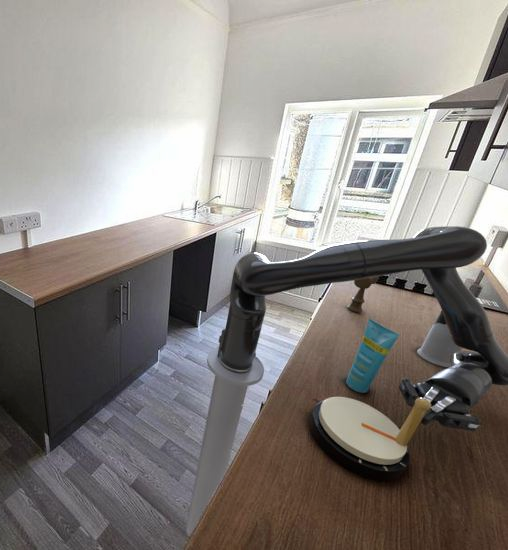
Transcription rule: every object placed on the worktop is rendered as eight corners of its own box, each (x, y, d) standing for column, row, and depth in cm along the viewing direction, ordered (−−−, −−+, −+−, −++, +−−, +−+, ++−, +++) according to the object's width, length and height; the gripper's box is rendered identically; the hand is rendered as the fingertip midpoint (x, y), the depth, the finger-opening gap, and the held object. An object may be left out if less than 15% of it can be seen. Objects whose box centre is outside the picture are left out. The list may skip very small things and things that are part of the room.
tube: (337, 378, 81) (362, 318, 73) (350, 375, 83) (375, 316, 75) (364, 398, 75) (393, 335, 67) (377, 394, 76) (407, 332, 69)
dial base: (292, 424, 66) (296, 414, 65) (337, 399, 74) (341, 390, 73) (375, 498, 53) (382, 487, 52) (419, 458, 60) (426, 448, 59)
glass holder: (410, 351, 95) (431, 311, 89) (437, 344, 99) (458, 305, 93) (443, 369, 87) (468, 326, 81) (471, 360, 92) (496, 319, 86)
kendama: (366, 309, 120) (385, 263, 112) (358, 316, 114) (378, 269, 106) (349, 303, 124) (366, 259, 116) (341, 310, 118) (358, 263, 110)
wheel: (313, 434, 60) (333, 386, 55) (323, 391, 72) (339, 348, 67) (407, 482, 52) (440, 431, 47) (401, 425, 64) (427, 379, 59)
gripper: (423, 357, 68) (384, 380, 60) (507, 397, 57) (474, 432, 49) (409, 382, 71) (371, 407, 63) (487, 425, 60) (453, 462, 52)
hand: (416, 418), depth 56 cm, fingers closed
